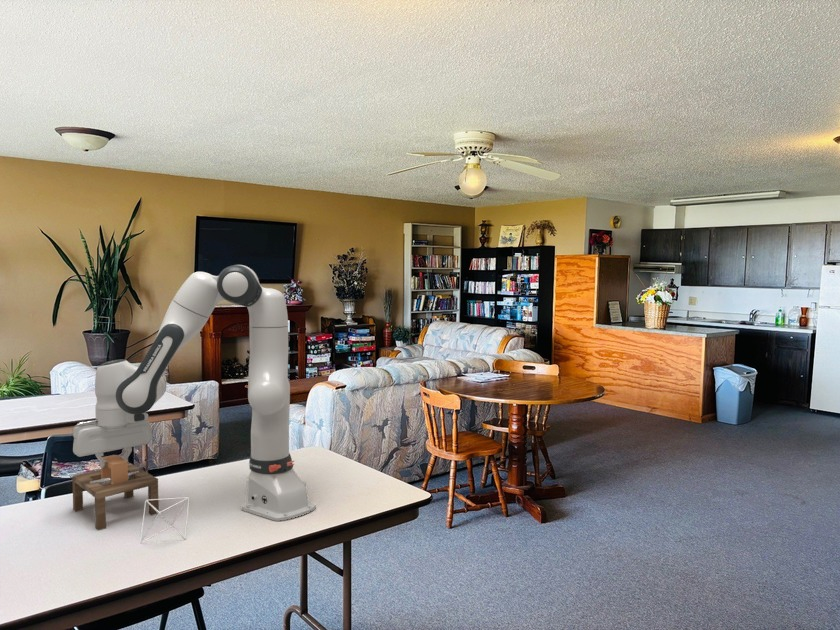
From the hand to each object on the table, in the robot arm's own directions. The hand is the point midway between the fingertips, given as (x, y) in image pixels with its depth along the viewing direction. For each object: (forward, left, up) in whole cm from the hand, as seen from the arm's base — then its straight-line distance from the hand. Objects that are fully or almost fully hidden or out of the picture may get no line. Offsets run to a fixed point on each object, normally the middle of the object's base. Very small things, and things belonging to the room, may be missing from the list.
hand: (114, 465), depth 170 cm
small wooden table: (0, 0, -14) cm, 14 cm away
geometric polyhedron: (-26, -3, -14) cm, 30 cm away
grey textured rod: (0, 0, -5) cm, 5 cm away
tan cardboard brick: (0, 0, -6) cm, 6 cm away
